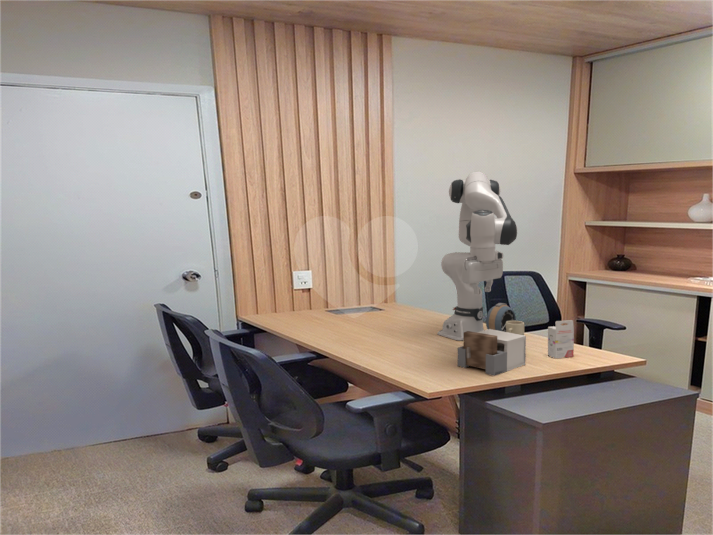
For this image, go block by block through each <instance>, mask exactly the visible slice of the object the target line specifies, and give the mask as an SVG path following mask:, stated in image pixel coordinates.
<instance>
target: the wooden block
mask: <svg viewBox="0 0 713 535" xmlns="http://www.w3.org/2000/svg"><path fill="white" fill-rule="evenodd" d="M462 342H463V349H466V365H469V366H470V367H474V368H479V369H483V370H486V354H489V355H496V354H497V336H495V335H489V334H483V333H477V332H471V331H466V332H464V340H462Z"/></svg>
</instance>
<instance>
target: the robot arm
mask: <svg viewBox="0 0 713 535" xmlns="http://www.w3.org/2000/svg"><path fill="white" fill-rule="evenodd" d="M448 196H449V199H450V201H451V202H452V203H455V204H461V207H460V211H459V218H458V219H459V220H458V221H459V222H458V239H459V241H460V242H461V243H463V244H464V245H466V246H468V247H470V248H469V251H470V252H461V251H460V252H457V251H456V252H450V253H446V254H445V255H444V256H443V257H442V260H441V262H440V263H441V264H440V266H441V270H442V272H444V274H445V275H446V276H448V277H449V278H450V280H451V281H452V282H453V284H454V286H455V288H456V298H457V300H456V302H457V305H456V306H455V307H453V308H452V311H454V313H453V314H452V315H451V316H449V317H448V318H447V319H445V320H444V322H443V324H442V327H441V328H442V329H441V330H438V331H437V335H438V336H440V337H441V336H442V337H444V338H448V339H450V340H453V341H454V340H455V341H463V340H464V332H466V331H471V332H480V331H483V330H485V329H484V323H483V318H484V317H483V316H484V306H483V291H482V289H481V287H480V285H479V284H480V283H482V282H485V283H486V285H485V286H484V292H485V293H490V292H491V291H492V285H493V283H494V280H497V279H501V278H502V276H503V274H504V273H503V272H504V271H503V270H504V262H503V258H504V253H503V252H501V251H499V250H497V249H496V245H501V246H502V245H503V246H504V245H505V246H509V245H511V244H513V242H515V241H516V240H517V235H518V227H517V224H516V222H515V220H514V219H513V218H512V215H511V214H510V212H509V210H508V208H507V206H506V203H505V201H504V199H503V198H502V197H501V187H500V184H499V182H498V181H497V180H494V179H489V178H488V176H487V174H486V173H484V172H482V171H479V170H478V171H473V172H470V173H469V174H468V176H467V177H466V178H465V179H461V178H458V179H456V180H453V181H452V182H451V184H450V186H449V188H448ZM495 216H496V218H495Z"/></svg>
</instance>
